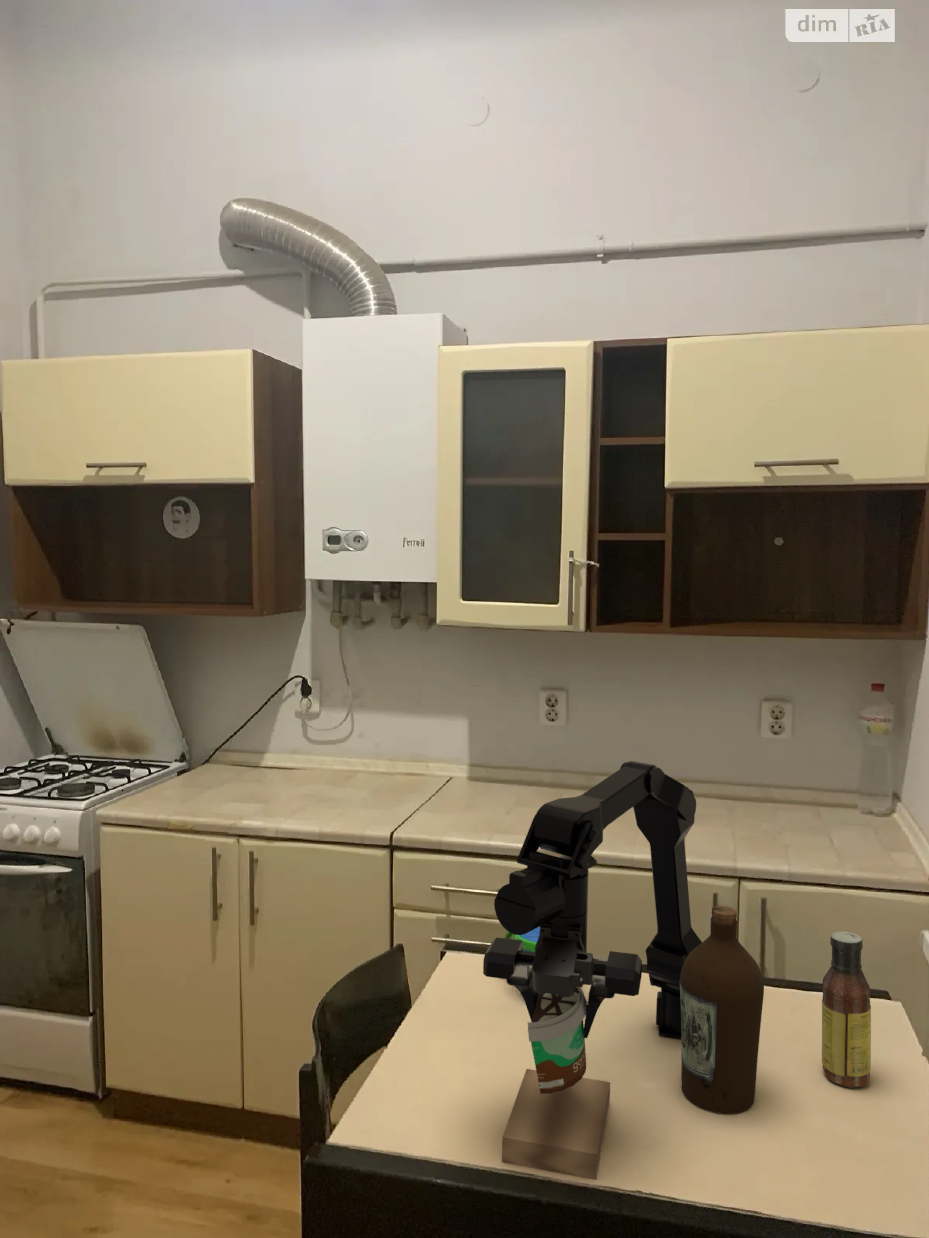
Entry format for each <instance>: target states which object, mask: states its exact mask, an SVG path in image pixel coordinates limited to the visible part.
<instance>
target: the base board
mask: <svg viewBox="0 0 929 1238" xmlns="http://www.w3.org/2000/svg"><path fill="white" fill-rule="evenodd" d="M610 1094H611V1082H610V1081H605V1080H600V1079H599V1080H598V1079H593V1078H587V1077H582V1079H581V1080H580V1081H578V1082H577V1083H576V1084H575V1085H574V1086H572V1087H570V1088H567V1089H565V1090H563V1091H559V1092H555V1093H550V1094H541V1093H540V1088H539V1082H538V1077H537V1072H536V1069H531V1068H526V1070H525V1072H524V1074H523V1078H522V1081H521V1084H520V1085H519V1090H518V1092H517V1094H516V1098H515V1100H514V1103H513V1106H512V1109H511V1112H510V1115H509V1117H508V1121H507V1123H506V1126H505V1129H504V1132H503V1134H502V1137H501V1138H502V1139H501V1146H502V1147H501V1162H502V1163H505V1164H511V1165H517V1166H522V1167H528V1168H534V1169H538V1170H543V1171H544V1170H545V1171H549V1172H555V1173H560V1174H564V1175H571V1176H575V1177H581V1178H587V1179H592V1180H597V1178H598V1173H599V1172H598V1171H599V1165H600V1160H601V1153H602V1149H603V1143H604V1138H605V1131H606V1128H607V1122H608V1115H609V1109H610V1099H611V1097H610V1096H611V1095H610Z"/></svg>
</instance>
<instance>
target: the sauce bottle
mask: <svg viewBox="0 0 929 1238" xmlns="http://www.w3.org/2000/svg"><path fill="white" fill-rule="evenodd" d="M829 939H830V940H829V943H830V946H831V962H830V967H829V969H828V970H827V972H826V973H825V974H824V976H823V978H822V1000H821V1064H822V1071H823V1073H824V1076H825V1077H826V1079H828V1081H830V1082H832V1083H835V1084H837V1085H839V1086H843V1087H845V1088H851V1089H852V1088H863V1087H864V1086H867V1085H868V1083H869V1082H870V1079H871V1075H870V1074H871V1068H872V1040H871V1039H872V1007H871V987H870V985H869V983H868V981H867V979H866V977H865V974H864V972H863V970H862V968H863V967H862V950H863V947H864V946H863V938H862V936H860V935H858V934H856V933H854V932H850V931H846V930H843V931H842V930H841V931H835V932H832V933H831V934H830V938H829Z"/></svg>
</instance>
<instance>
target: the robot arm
mask: <svg viewBox="0 0 929 1238" xmlns="http://www.w3.org/2000/svg"><path fill="white" fill-rule="evenodd" d="M631 809H633V813H634V817H635V822H636V826H637V828H638V829H639V830H640V832H641V834H642V835H643V837H644V838H645V839H646V840H647V842H648V843H649V847H650V860H651V862H650V863H651V870H652V871H651V872H652V882H653V883H652V884H653V885H652V886H653V893H654V894H653V895H654V905H655V906H654V907H655V917H656V927H657V930H656V934H655V936H654V937H653V938H652V940H651V941H650V943H649V944H648V946H647V947H646V948H645V954H646V970H647V972H648V978H649V984H650V986H653V987H657V988H660V991H657V993H656V1007H655V1008H656V1009H655V1024H656V1026H658V1035H659V1036H663V1037H668V1038H669V1037H670V1038H676V1039H681V998H680V976H681V970H682V967H683V964H684V962H685V959H686V957H687V956H688V955H689V953H690V952H691V951H692V950H694V949H695V948H696V947H697V946H698V945H700V944H701V943H702V942H703V941H702V940H701V938H700V937H699V936H698V935H697V933H696V932H695V930H694V929H693V928H692V919H691V918H692V917H691V906H690V893H689V884H688V883H689V882H688V868H687V855H686V845H685V842H686V841H685V838H686V837H687V836H688V833H689V832H690V830H691V829H692V827H693V826H694V823H695V820H696V819H695V817H696V815H695V814H696V810H697V800H696V797H695V793H694V792H693V790H692V789H690V788H689V787H688V786H686V785H684V784H683V783H682V782H679V781H678V780H676V779H674V778H672V777H671V776H669V775H668V774H666V773H665V772H664V771H663V770H662V769H661V768H660V767H658V766H657V765H656V764H650V763H646V762H640V761H633V760H630V761H625V762H623V763H622V764H621V766H620V768H619V769H618V770H617V771H615V772H613V773H612V774H610V775H609V776H608V777H606V778H604V779H603V780H602V781H600V782H599V783H597V784H596V785H594V786H593V787H591V788H590V789H588V790H587V791H585V792H584V793H582V794H580V795H578V796H572V797H562V798H561V797H560V798H557V799H553V800H551V801H547V802H546V803H544V804H542V805H541V806H540V807H539V809H538V810H536V813H535V815H534V817H533V818H532V820H531V824H530V826H529V828H528V831H527V834H526V836H525V839H524V840H523V843H522V846H521V849H520V851H519V853H518V857H517V858H516V862H517V864H520V865H524V866H526V867H525V868H523V869H521V870H514V871H512V872H510V873H509V875H508V876H509V877H508V879H509V880H508V883H507V884H505V885H502V887H500V888H499V889H498V891H497V893H496V895H495V896H496V897H495V898H494V901H493V903H494V911H495V915H496V918H497V920H498V922H499V924H501V926H502V927H503V928H504V929H505V930H506V932H507V931H509V932H510V933H512V934H514V935H523V934H526V933H528V932H530V931H532V930H534V929H536V928H538V927H540V933H539V938H538V940H537V943H536V946H535V952H528V951H524V944H523V941H522V940H514V939H513V938H511V939H506V938H505V937H495V938H494V939H493V940H492V941H491V942H490V943H489V946H488V948H487V949H486V952H485V953H484V956H483V961H482V962H483V963H482V965H483V968H482V969H483V970H482V971H483V972H482V973H483V975H484V976H485V977H488V978H494V979H502V980H506V981H505V982H506V984H507V985H509V986H513V987H514V988H516V989H517V990H518V991H519V993H520V994H521V997H522V999H523V1001H524V1003H525V1006H526V1009H527V1013H528V1016H529V1019H530V1022H532V1020H533V1016H534V1012H535V1007H536V1002H537V998H538V995H539V994H545V993H548V994H556V995H560V996H562V997H570V996H572V995H573V994H574V993H575V987H581V988H583V986H585V985H587V986H590V989H589V991H588V1000H587V1011H586V1015H585V1017H584V1038H585V1039H588V1037H589V1034H590V1032H591V1029H592V1026H593V1023H594V1020H595V1017H596V1015H597V1012H598V1010H599V1008H600V1007H601V1005H602V1004H603V1002H604V1000H605V999H608V1000H609V999H613V998H614V997H615V995H622V996H629V997H634V996H639V994H640V989H641V981H642V973H643V972H642V970H643V969H642V968H643V967H642V966H643V962H642V961H643V960H642V958H641V957H640V956H639V955H638V954H637V953H629V952H621V951H613V950H612V951H611V950H610V951H609V953H608V957H607V959H602V958H600V959H594V955H593V953H592V952H588V951H587V947H588V946H587V945H588V905H589V903H588V901H589V897H588V896H589V870H590V869H591V868H593V867H596V866H597V864H598V861H597V859H596V858H595V857H594V856H592V855H593V853H594V851H596V849H598V847H599V846H600V845H601V844H602V843H603V842H604V830H605V829H606V828H607V827H608V826H609V825H610V824H612V823H613V822H615V821H616V820H618V818H620V817H621V816H623V815H624V814H625V813H627V812H628V811H630V810H631ZM539 849H540V850H542V851H547V852H551V853H554V854H558V855H560V856H555V855H553V854H552V855H551V854H547V853H543V852H540V851H538V850H539Z"/></svg>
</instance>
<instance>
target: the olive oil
mask: <svg viewBox="0 0 929 1238" xmlns="http://www.w3.org/2000/svg"><path fill="white" fill-rule="evenodd" d="M737 915H738V911H737V910H736V909H735V908H733V907H731V906H728V905H716V906H713V907H711V918H710V924H709V925H710V930H709V931H710V933H709V934H710V935H708V937H706V939H705V940H703V941H701V942H702V943H701V944H700V945H698V946H697V947H696V948H695V949H694V950H692V951H691V952H690V953H689V955H688V956H687V957H686V959H685V962H684V964H683V967H682V970H681V976H680V998H681V1038H680V1040H681V1042H680V1043H681V1045H680V1046H681V1048H680V1049H681V1054H680V1055H681V1057H680V1058H681V1069H680V1070H681V1076H680V1077H681V1081H680V1082H681V1084H680V1085H681V1091H682V1094H683V1095H684V1096H685V1098H686V1099H687V1100H688V1101H689V1102H690V1103H692V1104H694V1105H695V1106H696V1107H698V1108H700V1109H703V1110H704V1111H705V1110H706V1111H708V1112H710V1113H711V1112H712V1113H715V1114H721V1115H733V1114H740V1113H744V1112H746V1111H747V1110H749V1109H750V1108H752V1107H753V1105H754V1103H755V1099H756V1086H757V1070H758V1068H757V1067H758V1059H759V1048H760V1047H759V1045H760V1036H761V1024H762V1013H763V1005H764V1004H763V1003H764V994H765V985H764V979H763V975H762V971H761V968H760V966H759V964H758V962H757V961H756V960H755V959H754V957H753V956H752V955H751V954H750V953H749V952H748V950H746V948H745V947H744V945H742V943H740V941H739V939H738V937H737V936H738V935H737V933H738V921H737V917H738V916H737Z"/></svg>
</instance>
